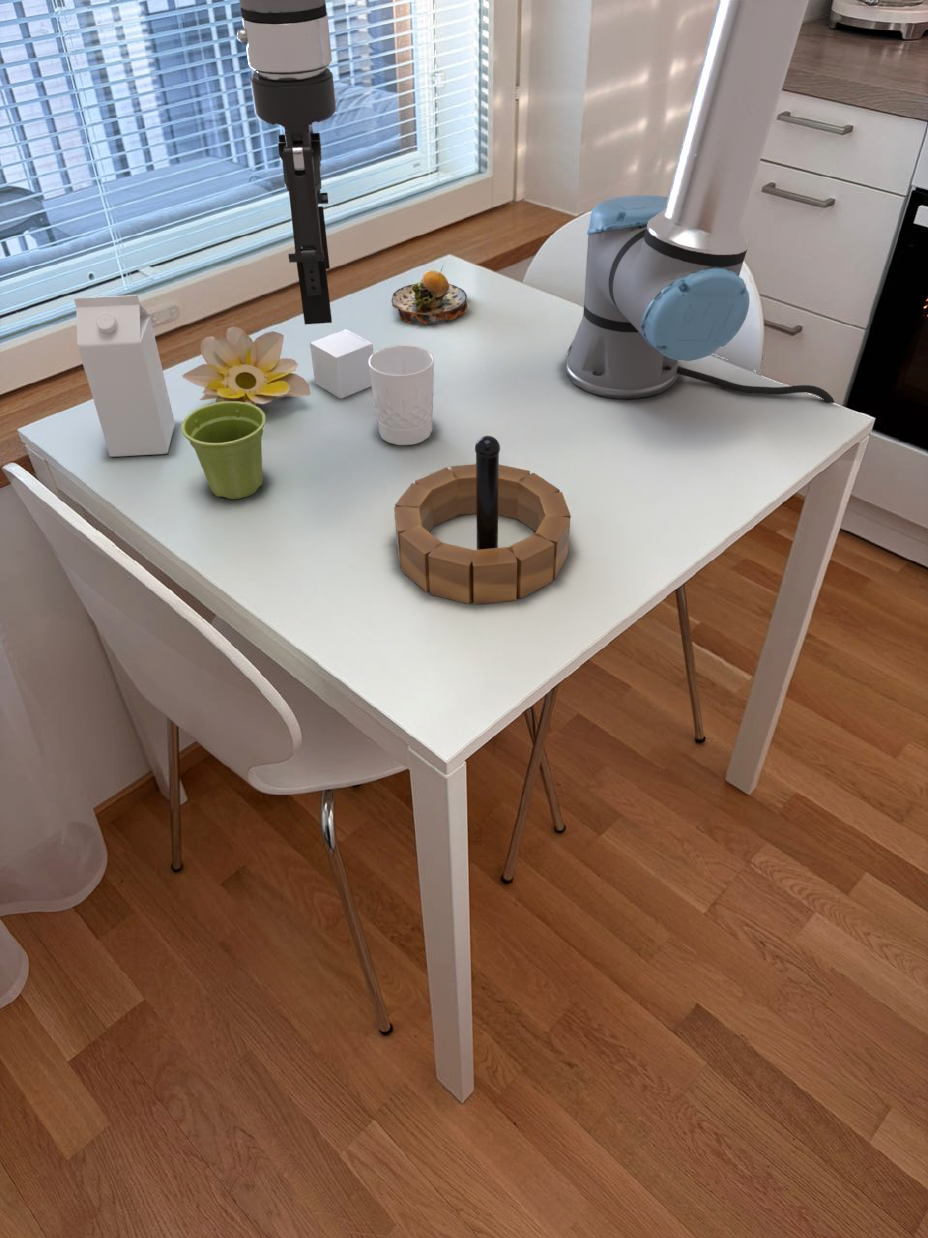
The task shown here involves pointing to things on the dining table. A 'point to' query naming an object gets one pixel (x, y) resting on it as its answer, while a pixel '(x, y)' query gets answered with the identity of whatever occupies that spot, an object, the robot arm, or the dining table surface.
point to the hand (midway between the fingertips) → (317, 294)
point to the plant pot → (228, 446)
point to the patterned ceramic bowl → (430, 299)
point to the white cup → (403, 393)
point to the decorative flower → (246, 369)
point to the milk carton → (124, 374)
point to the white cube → (342, 363)
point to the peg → (487, 492)
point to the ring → (484, 569)
